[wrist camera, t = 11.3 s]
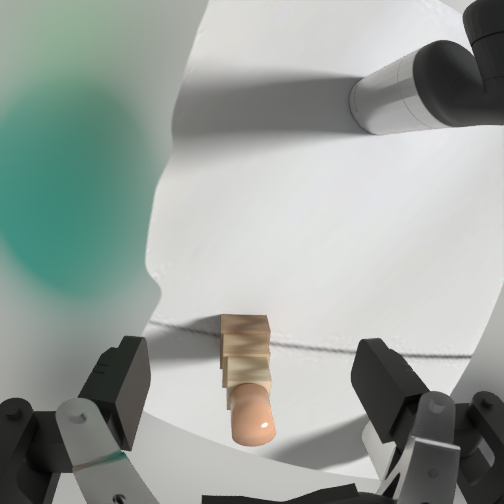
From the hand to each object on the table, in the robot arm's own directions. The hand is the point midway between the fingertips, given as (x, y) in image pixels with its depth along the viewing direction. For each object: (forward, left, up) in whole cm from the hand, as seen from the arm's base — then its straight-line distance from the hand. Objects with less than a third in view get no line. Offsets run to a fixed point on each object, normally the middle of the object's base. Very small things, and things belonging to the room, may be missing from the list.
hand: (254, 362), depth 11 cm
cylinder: (-2, +19, -18) cm, 26 cm away
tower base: (-2, +19, -33) cm, 38 cm away
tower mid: (-2, +19, -28) cm, 34 cm away
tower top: (-2, +19, -23) cm, 30 cm away
